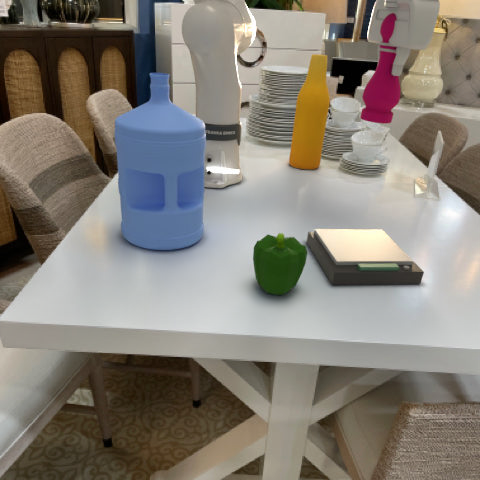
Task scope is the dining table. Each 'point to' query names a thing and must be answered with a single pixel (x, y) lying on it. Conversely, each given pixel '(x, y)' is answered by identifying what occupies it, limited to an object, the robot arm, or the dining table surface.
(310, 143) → the beer bottle
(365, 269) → the scale
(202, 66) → the robot arm
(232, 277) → the dining table surface
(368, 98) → the pepper mill
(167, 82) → the water jug
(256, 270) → the bell pepper
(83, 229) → the dining table surface
